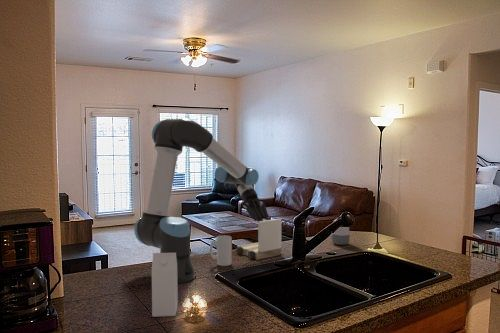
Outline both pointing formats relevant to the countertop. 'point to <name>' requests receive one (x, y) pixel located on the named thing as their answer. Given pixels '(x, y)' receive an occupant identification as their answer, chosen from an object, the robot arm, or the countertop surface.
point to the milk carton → (164, 284)
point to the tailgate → (269, 235)
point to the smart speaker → (341, 236)
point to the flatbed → (255, 251)
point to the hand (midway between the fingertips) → (268, 231)
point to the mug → (222, 250)
